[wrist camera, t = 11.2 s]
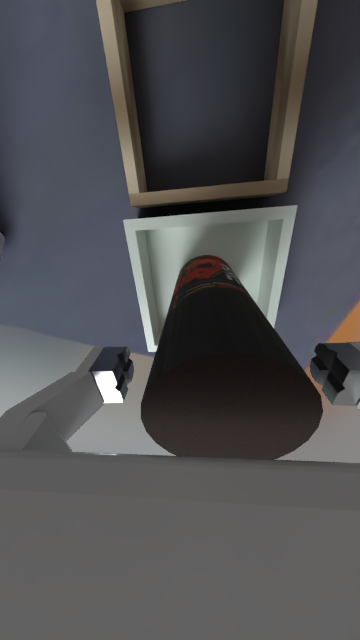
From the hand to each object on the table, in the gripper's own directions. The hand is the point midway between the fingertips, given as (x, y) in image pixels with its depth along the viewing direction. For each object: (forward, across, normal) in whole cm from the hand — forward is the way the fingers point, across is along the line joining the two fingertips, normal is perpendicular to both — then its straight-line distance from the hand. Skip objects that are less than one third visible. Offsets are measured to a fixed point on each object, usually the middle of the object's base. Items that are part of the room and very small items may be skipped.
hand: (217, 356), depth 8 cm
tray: (+13, 0, +1) cm, 13 cm away
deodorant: (+12, 0, +1) cm, 13 cm away
